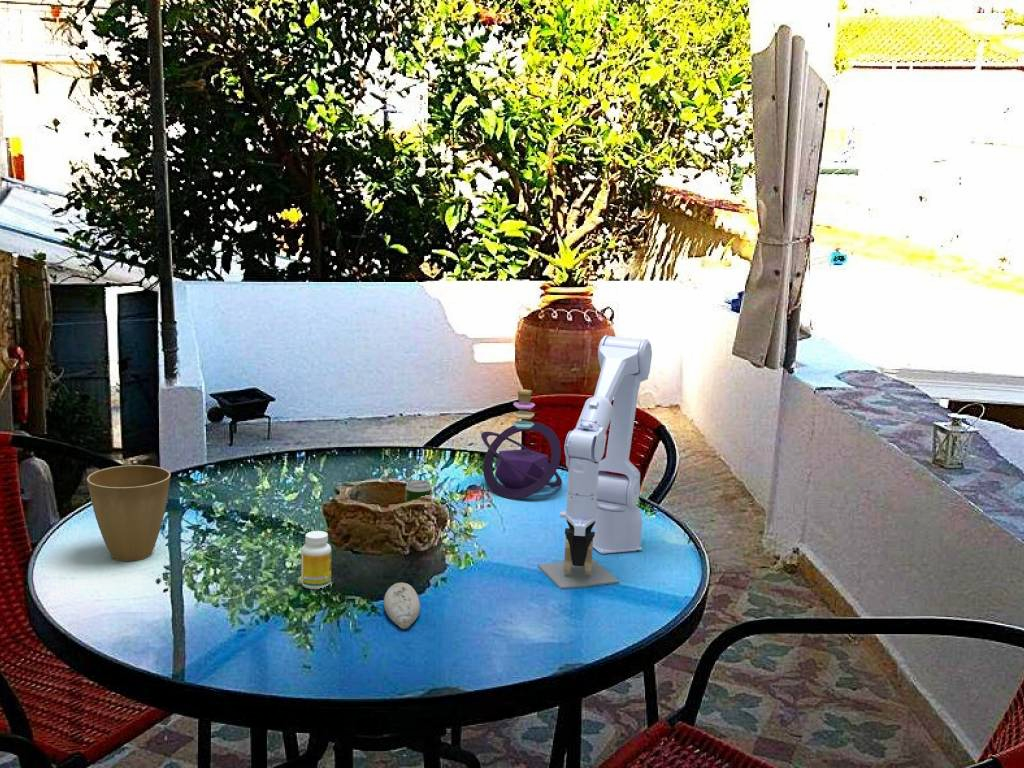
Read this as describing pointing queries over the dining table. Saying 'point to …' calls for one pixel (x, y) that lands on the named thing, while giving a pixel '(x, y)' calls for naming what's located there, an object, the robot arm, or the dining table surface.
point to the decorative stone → (402, 604)
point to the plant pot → (129, 508)
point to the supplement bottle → (316, 561)
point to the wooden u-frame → (568, 558)
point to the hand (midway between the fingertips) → (578, 559)
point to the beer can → (417, 489)
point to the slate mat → (577, 575)
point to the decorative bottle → (521, 457)
